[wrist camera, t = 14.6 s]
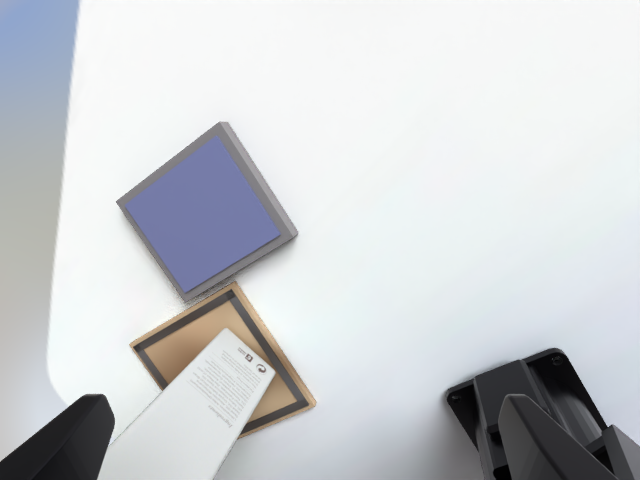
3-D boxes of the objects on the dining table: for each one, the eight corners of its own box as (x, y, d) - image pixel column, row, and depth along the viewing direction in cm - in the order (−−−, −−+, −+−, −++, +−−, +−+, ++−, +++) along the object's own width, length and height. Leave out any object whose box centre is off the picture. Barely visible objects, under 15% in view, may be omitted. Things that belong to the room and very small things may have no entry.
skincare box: (225, 323, 24) (59, 493, 13) (278, 370, 24) (159, 581, 13) (174, 381, 26) (-6, 571, 15) (223, 425, 26) (79, 647, 15)
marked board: (316, 402, 25) (314, 407, 24) (209, 448, 28) (205, 453, 27) (235, 280, 24) (231, 283, 23) (132, 341, 27) (127, 345, 26)
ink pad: (298, 232, 22) (292, 238, 21) (193, 295, 25) (183, 303, 24) (227, 122, 21) (217, 121, 20) (127, 198, 24) (113, 202, 23)
